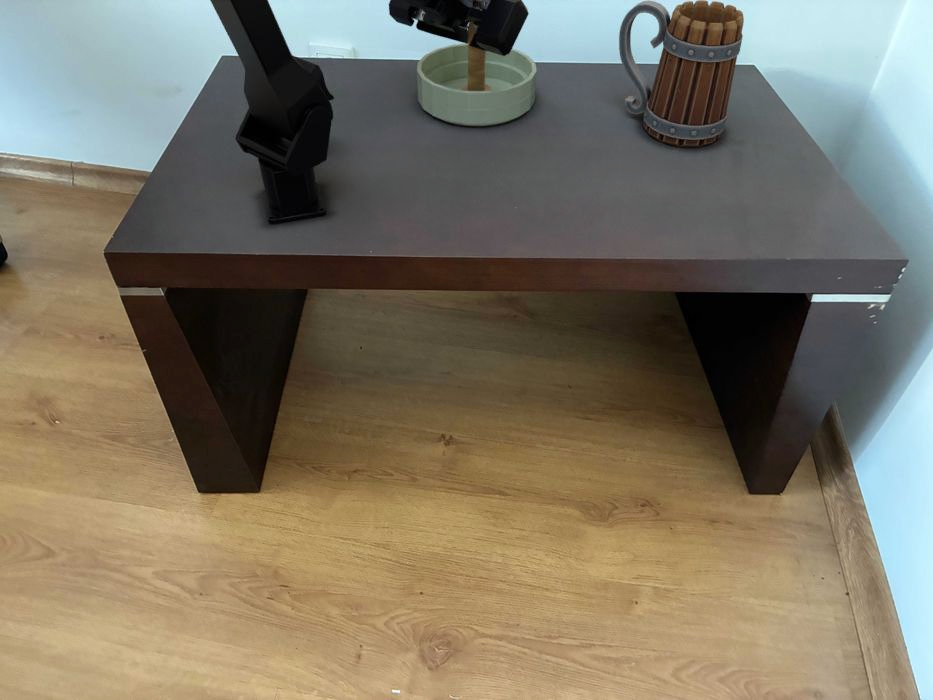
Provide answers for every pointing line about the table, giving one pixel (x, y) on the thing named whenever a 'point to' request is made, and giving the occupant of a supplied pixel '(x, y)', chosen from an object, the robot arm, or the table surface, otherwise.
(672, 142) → the mug
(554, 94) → the table surface
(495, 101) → the bowl
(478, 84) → the wooden pestle
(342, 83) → the table surface
